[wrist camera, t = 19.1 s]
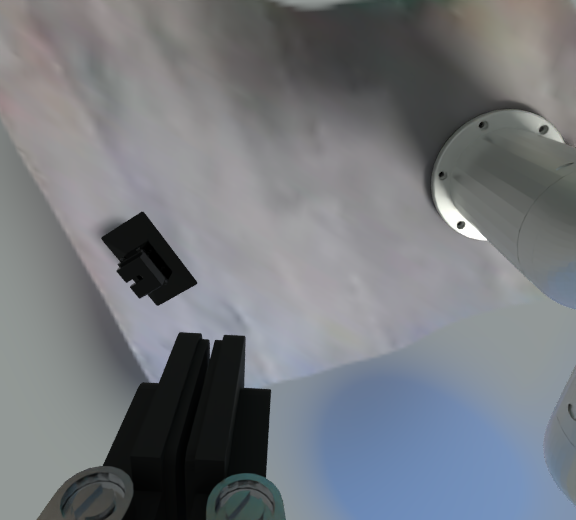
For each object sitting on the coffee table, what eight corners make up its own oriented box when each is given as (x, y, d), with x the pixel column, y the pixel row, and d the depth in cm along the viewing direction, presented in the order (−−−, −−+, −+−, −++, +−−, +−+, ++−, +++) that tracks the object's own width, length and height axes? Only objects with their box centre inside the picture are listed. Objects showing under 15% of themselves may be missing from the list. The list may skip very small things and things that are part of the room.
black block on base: (87, 228, 48) (68, 245, 44) (143, 193, 47) (129, 207, 43) (161, 317, 53) (150, 340, 49) (214, 287, 51) (207, 308, 47)
